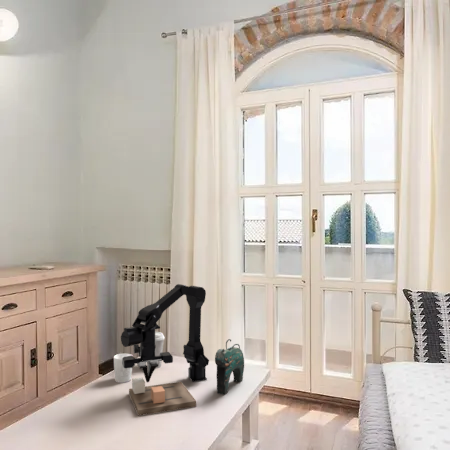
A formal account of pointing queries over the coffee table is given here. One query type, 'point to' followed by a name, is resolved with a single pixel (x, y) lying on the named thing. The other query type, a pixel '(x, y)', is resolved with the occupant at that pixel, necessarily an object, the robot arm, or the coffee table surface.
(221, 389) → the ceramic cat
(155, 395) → the block
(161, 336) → the coffee cup
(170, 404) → the fader panel
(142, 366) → the robot arm
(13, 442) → the coffee table surface
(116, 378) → the white cup
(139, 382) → the block
